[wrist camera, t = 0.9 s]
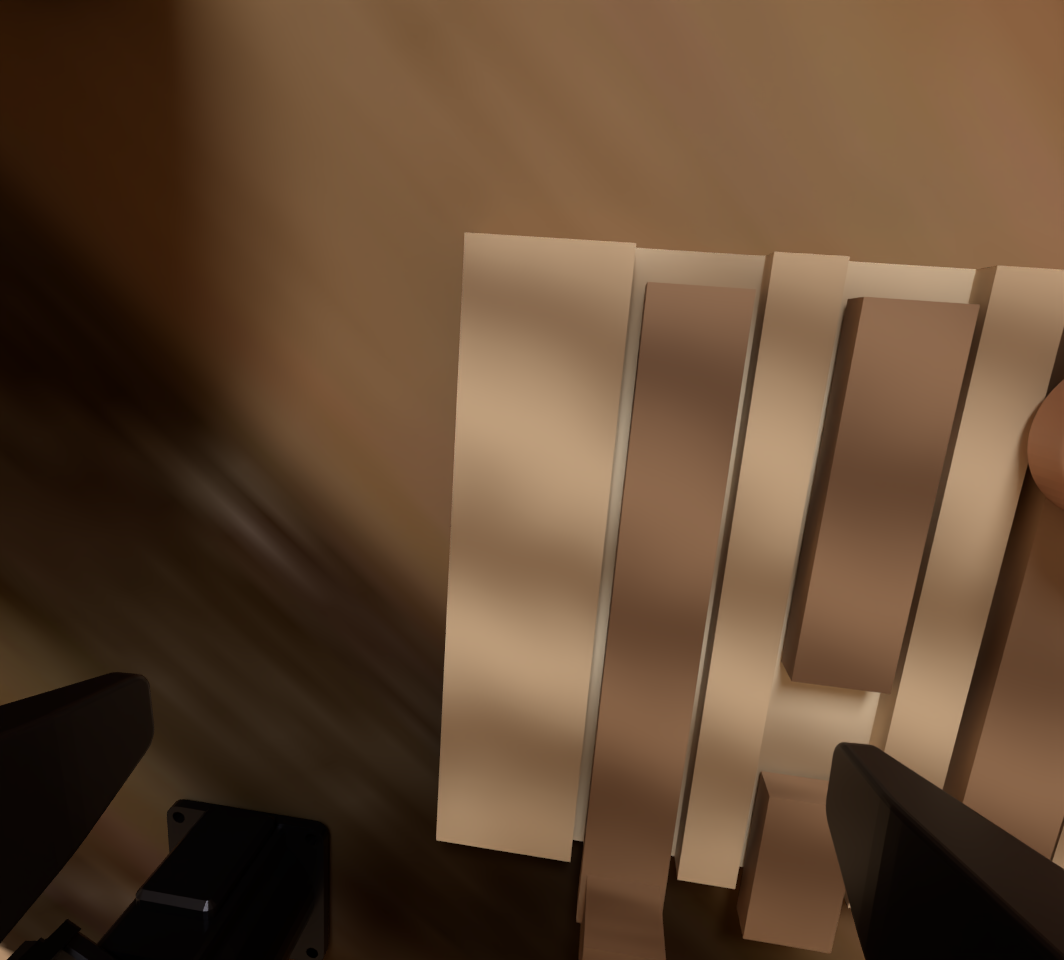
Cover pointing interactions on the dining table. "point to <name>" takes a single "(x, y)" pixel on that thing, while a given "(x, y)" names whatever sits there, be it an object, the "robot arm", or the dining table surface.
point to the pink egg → (1049, 447)
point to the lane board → (733, 543)
